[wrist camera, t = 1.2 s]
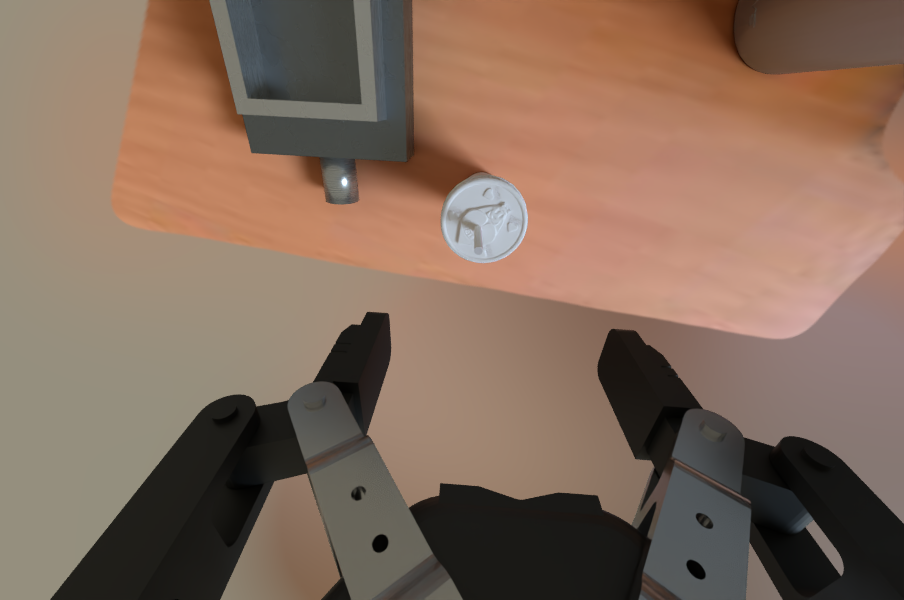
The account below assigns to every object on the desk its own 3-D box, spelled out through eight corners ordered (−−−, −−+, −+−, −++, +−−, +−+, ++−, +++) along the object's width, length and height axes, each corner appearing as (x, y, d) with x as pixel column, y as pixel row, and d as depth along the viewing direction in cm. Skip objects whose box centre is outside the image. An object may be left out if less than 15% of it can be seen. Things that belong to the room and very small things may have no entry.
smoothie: (434, 186, 32) (412, 236, 20) (489, 140, 30) (499, 167, 18) (474, 236, 35) (474, 308, 23) (527, 198, 33) (559, 255, 21)
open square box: (411, -98, 23) (388, -168, 17) (414, 198, 33) (401, 220, 27) (224, -105, 23) (137, -177, 17) (284, 191, 33) (243, 210, 27)
